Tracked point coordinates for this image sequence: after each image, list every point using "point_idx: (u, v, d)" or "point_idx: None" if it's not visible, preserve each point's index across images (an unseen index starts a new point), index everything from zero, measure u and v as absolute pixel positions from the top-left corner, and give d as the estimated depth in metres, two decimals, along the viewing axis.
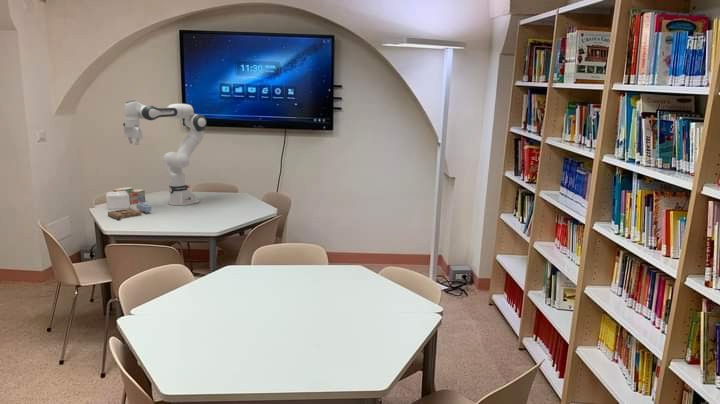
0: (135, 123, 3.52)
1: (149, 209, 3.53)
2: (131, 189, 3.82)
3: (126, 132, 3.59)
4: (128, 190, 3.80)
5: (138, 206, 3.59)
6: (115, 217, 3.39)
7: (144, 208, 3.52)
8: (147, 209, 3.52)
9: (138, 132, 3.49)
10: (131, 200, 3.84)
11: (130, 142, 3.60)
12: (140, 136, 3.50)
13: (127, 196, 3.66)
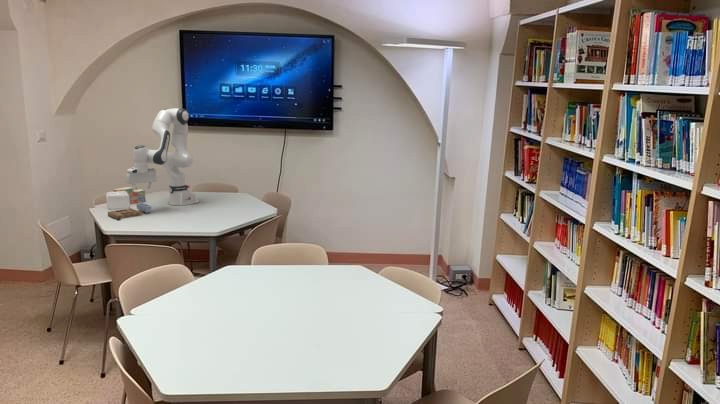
0: None
1: (149, 209, 3.53)
2: (131, 189, 3.82)
3: (133, 179, 3.47)
4: (128, 190, 3.81)
5: (138, 206, 3.59)
6: (115, 217, 3.39)
7: (144, 208, 3.52)
8: (147, 209, 3.52)
9: None
10: (132, 200, 3.84)
11: (136, 188, 3.51)
12: None
13: (127, 196, 3.66)
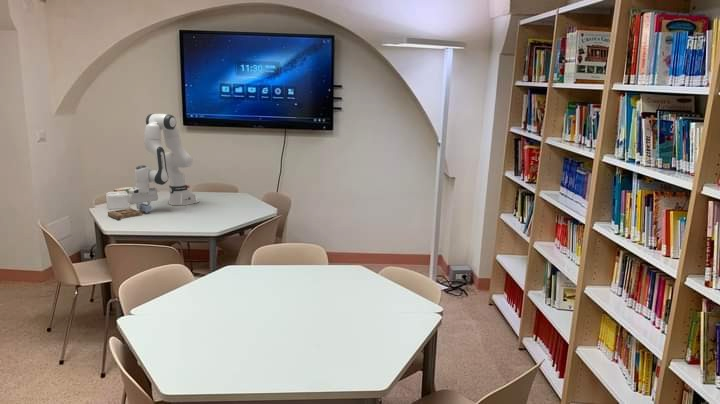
0: None
1: (149, 209, 3.53)
2: None
3: (134, 199, 3.50)
4: (128, 190, 3.81)
5: None
6: (115, 217, 3.39)
7: (144, 208, 3.52)
8: (147, 209, 3.52)
9: None
10: None
11: (141, 207, 3.55)
12: None
13: (127, 196, 3.66)
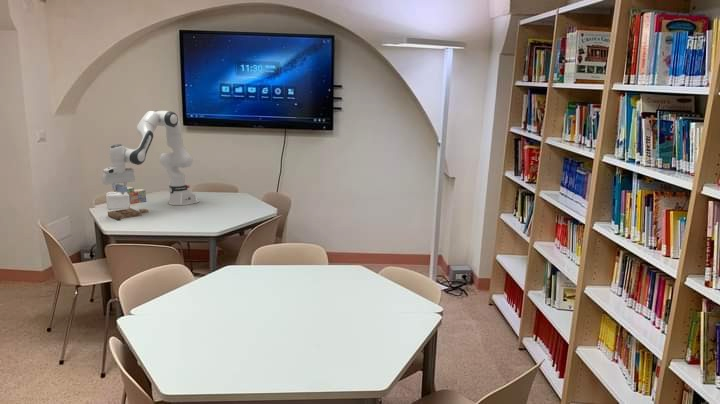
0: None
1: (125, 190, 3.39)
2: (132, 189, 3.83)
3: (109, 179, 3.35)
4: (129, 190, 3.81)
5: None
6: (115, 217, 3.39)
7: (120, 189, 3.38)
8: (123, 190, 3.38)
9: None
10: (132, 200, 3.85)
11: (116, 188, 3.41)
12: None
13: (127, 196, 3.66)
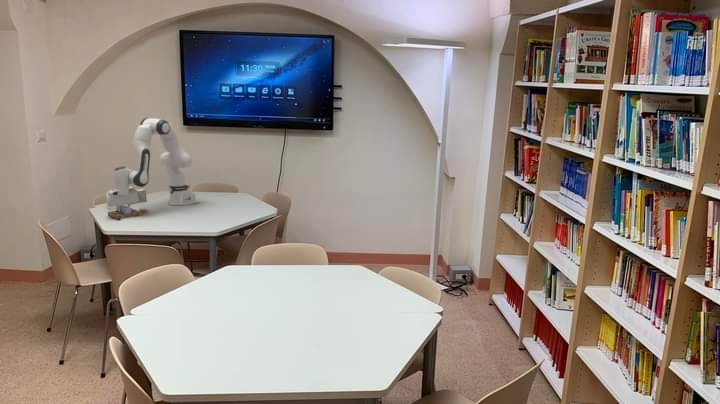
0: None
1: (129, 211, 3.43)
2: (132, 189, 3.84)
3: (113, 201, 3.40)
4: None
5: None
6: (115, 217, 3.39)
7: (124, 210, 3.42)
8: (127, 211, 3.42)
9: None
10: None
11: (120, 210, 3.46)
12: None
13: None
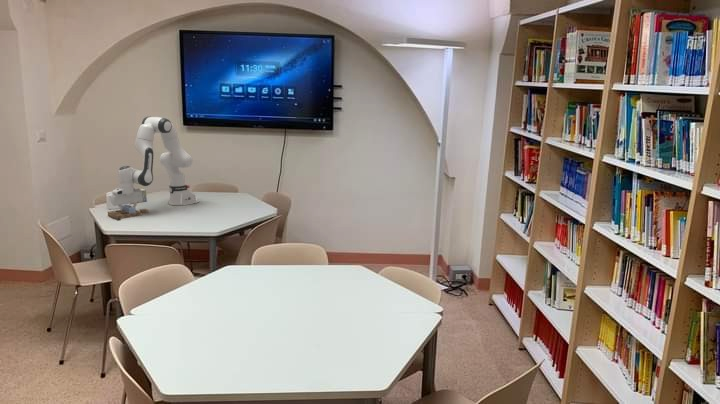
0: None
1: (133, 211, 3.45)
2: None
3: (118, 200, 3.42)
4: None
5: None
6: (115, 217, 3.39)
7: (128, 210, 3.44)
8: (131, 211, 3.44)
9: None
10: None
11: (123, 209, 3.47)
12: None
13: None
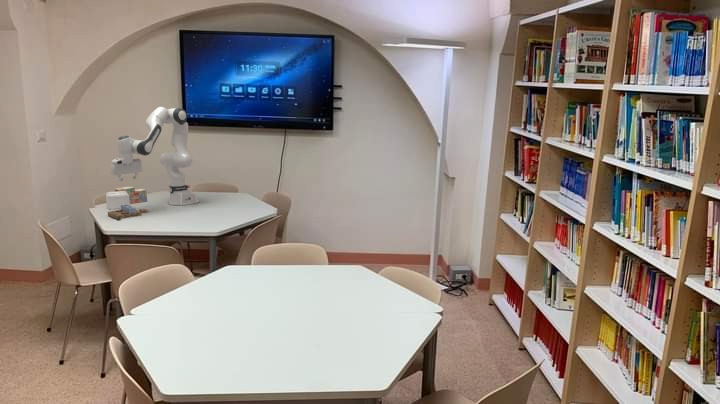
0: None
1: (133, 211, 3.45)
2: (132, 189, 3.84)
3: (118, 170, 3.45)
4: (129, 189, 3.82)
5: (122, 208, 3.51)
6: (115, 217, 3.39)
7: (128, 210, 3.44)
8: (131, 211, 3.44)
9: None
10: (133, 200, 3.85)
11: (122, 179, 3.49)
12: None
13: (127, 196, 3.66)
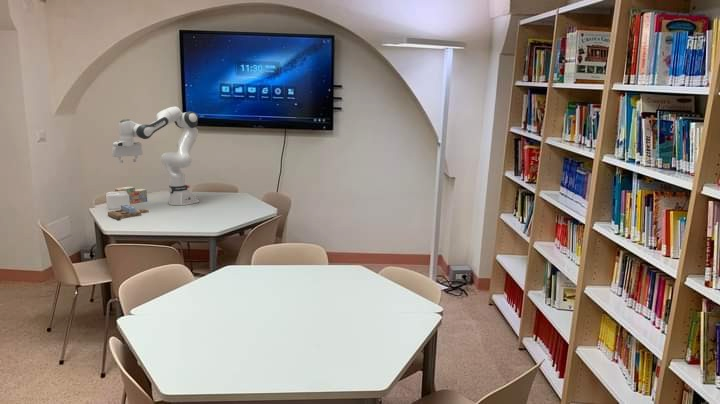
0: None
1: (133, 211, 3.45)
2: (132, 188, 3.84)
3: (118, 152, 3.53)
4: (129, 189, 3.83)
5: (122, 208, 3.51)
6: (115, 217, 3.39)
7: (128, 210, 3.44)
8: (131, 211, 3.44)
9: None
10: (133, 200, 3.86)
11: (122, 161, 3.58)
12: None
13: (127, 196, 3.66)
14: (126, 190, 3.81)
